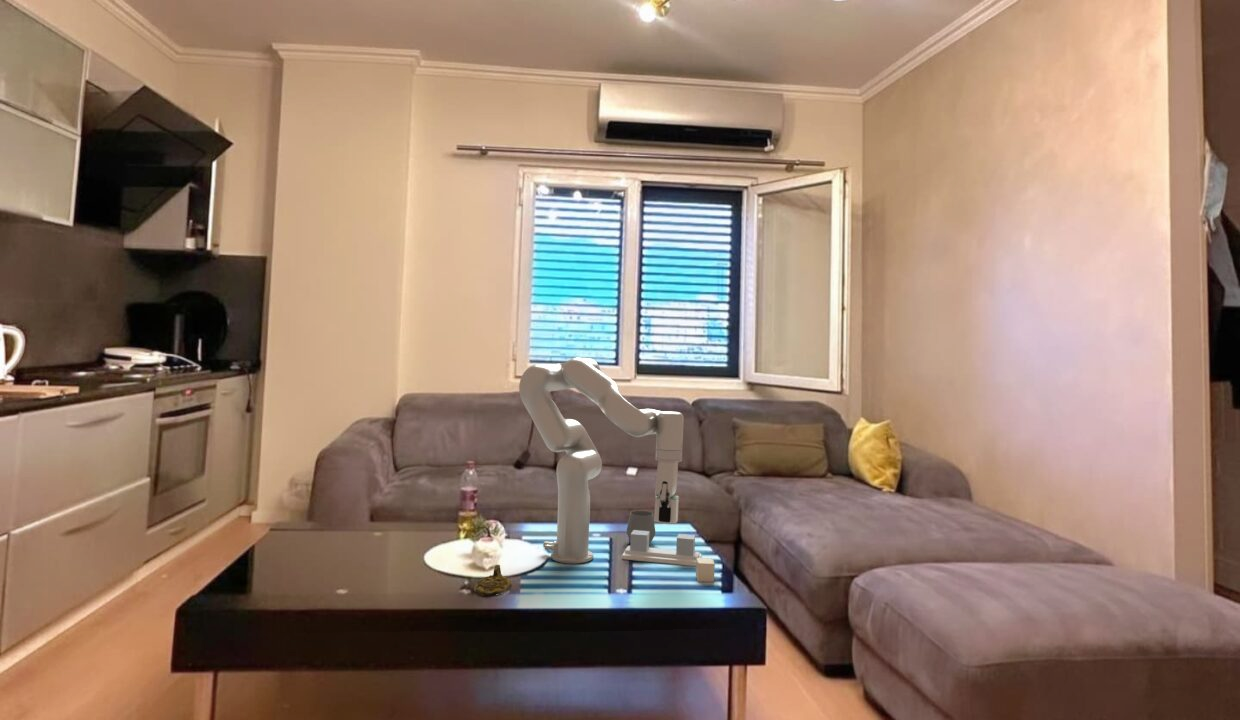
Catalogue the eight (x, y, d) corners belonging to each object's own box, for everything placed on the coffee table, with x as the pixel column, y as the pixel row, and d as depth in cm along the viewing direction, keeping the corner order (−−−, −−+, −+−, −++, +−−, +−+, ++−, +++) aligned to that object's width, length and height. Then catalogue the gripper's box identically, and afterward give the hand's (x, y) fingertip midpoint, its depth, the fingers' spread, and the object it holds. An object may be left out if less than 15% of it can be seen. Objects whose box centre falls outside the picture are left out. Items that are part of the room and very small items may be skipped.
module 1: (654, 521, 190) (655, 497, 190) (656, 518, 194) (658, 494, 194) (675, 524, 189) (676, 499, 189) (677, 520, 193) (678, 495, 193)
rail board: (622, 559, 203) (622, 535, 203) (627, 550, 212) (628, 527, 211) (698, 566, 198) (699, 541, 198) (701, 557, 207) (702, 534, 207)
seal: (505, 603, 167) (513, 582, 182) (508, 584, 167) (516, 565, 182) (468, 598, 167) (479, 577, 182) (471, 579, 167) (482, 560, 182)
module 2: (697, 581, 185) (698, 563, 185) (695, 575, 190) (696, 557, 190) (714, 582, 185) (714, 563, 185) (711, 576, 190) (712, 558, 190)
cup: (655, 548, 215) (656, 517, 215) (626, 547, 216) (627, 515, 216) (654, 540, 225) (655, 510, 225) (626, 539, 225) (627, 509, 225)
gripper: (660, 450, 201) (657, 511, 201) (650, 458, 184) (647, 525, 184) (685, 452, 199) (683, 514, 199) (677, 460, 182) (674, 528, 183)
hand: (665, 518), depth 192 cm, fingers closed on module 1, 4 cm apart
